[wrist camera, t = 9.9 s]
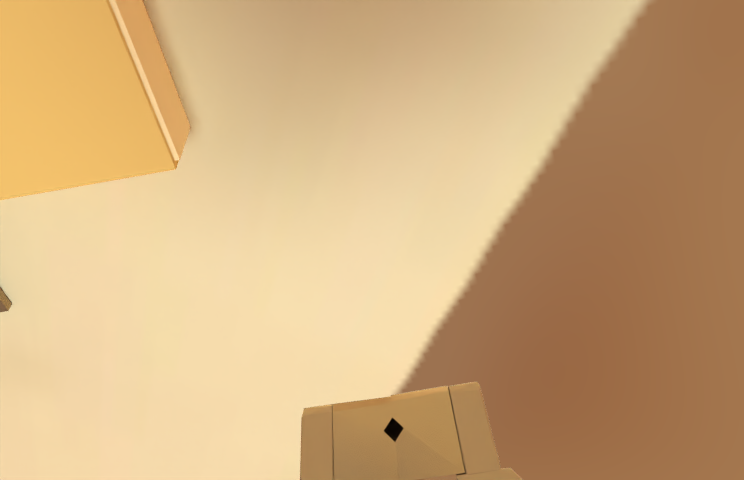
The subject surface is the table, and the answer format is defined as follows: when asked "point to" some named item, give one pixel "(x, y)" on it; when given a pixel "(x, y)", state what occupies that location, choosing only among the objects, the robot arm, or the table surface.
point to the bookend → (4, 302)
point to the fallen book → (83, 96)
